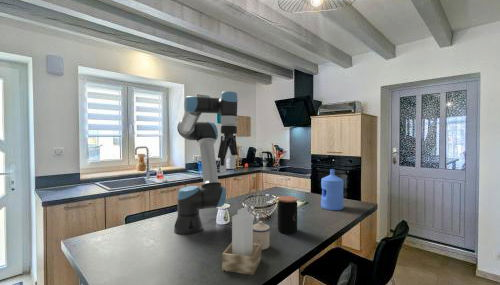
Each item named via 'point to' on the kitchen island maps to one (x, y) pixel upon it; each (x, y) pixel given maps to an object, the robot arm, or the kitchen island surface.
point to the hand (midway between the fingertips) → (228, 170)
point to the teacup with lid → (261, 235)
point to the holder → (241, 260)
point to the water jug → (332, 192)
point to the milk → (242, 233)
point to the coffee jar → (287, 214)
